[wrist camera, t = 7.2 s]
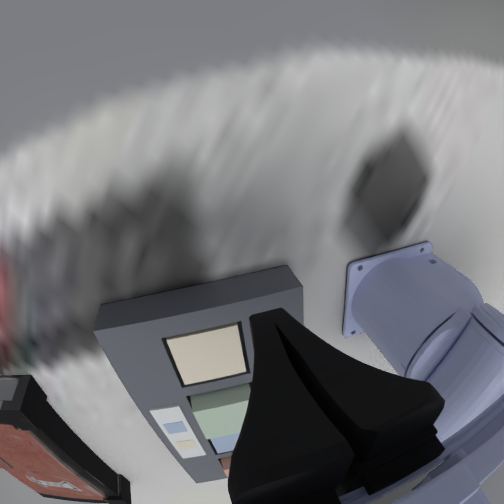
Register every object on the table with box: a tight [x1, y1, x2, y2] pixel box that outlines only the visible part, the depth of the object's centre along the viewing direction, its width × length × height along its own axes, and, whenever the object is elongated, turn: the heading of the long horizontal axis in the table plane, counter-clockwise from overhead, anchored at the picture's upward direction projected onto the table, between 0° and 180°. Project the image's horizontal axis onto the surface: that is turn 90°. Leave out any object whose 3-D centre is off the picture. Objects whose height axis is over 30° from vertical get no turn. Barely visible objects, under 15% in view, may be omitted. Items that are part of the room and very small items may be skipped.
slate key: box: [211, 433, 240, 453], centre depth 27 cm, size 5×5×2 cm
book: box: [0, 375, 131, 504], centre depth 23 cm, size 26×18×5 cm
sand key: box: [166, 322, 246, 385], centre depth 21 cm, size 5×5×2 cm
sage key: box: [190, 383, 251, 439], centre depth 23 cm, size 5×5×2 cm
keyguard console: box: [93, 265, 303, 483], centre depth 26 cm, size 14×28×3 cm, turn 6°
